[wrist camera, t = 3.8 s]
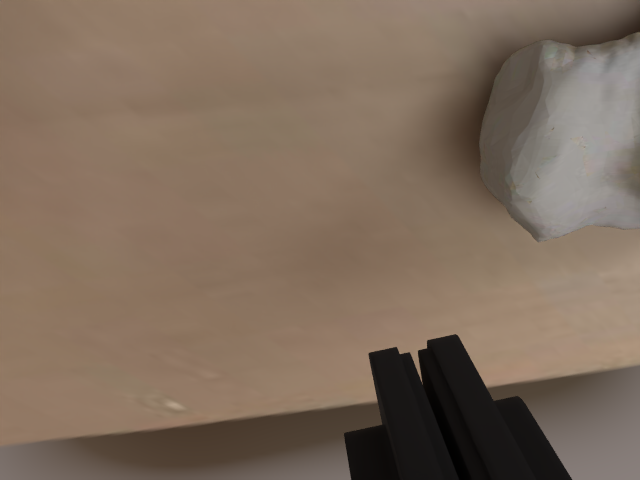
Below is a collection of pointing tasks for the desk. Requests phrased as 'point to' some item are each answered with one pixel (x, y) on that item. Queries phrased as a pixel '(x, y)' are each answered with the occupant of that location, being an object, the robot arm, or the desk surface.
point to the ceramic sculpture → (566, 136)
